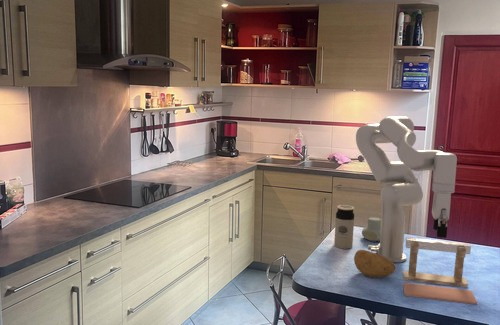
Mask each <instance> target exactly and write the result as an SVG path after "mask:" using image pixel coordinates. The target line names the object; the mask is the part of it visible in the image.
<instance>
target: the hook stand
mask: <svg viewBox="0 0 500 325" xmlns="http://www.w3.org/2000/svg"><path fill="white" fill-rule="evenodd" d="M418 248H419V243H416V242H412V246H411V248H409V249H410V250H409V259H408V260H409V261H408V262H409V263H408V270H403V271H402V278H403V281H409V282H417V283H418V282H419V283H427V284H435V285H442V286H443V285H445V286H453V287H461V288H468V287H469V286H468V285H469V284H468V282H467V280H466V278H465V277H463V272H464V262H465V258H466V255H467V254H466V247H458V253H455V262H454V268H453V269H454V270H453V276H451V275H444V274H433V273H425V272H417V265H418V264H417V261H418V253H419V249H418Z"/></svg>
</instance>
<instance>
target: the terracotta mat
mask: <svg viewBox="0 0 500 325" xmlns="http://www.w3.org/2000/svg"><path fill="white" fill-rule="evenodd" d="M402 285H403V286H402V287H403V293H404V296H405V297H414V298H421V299H428V300H429V299H430V300H438V301H445V302H453V303H460V304H461V303H462V304H469V305H478V302H477V299H476V297H475V295H474V293H473V291H472V290H471V289H470V290H469V289H461V288H452V287H443V286H434V285H427V284H420V283H419V284H418V283H410V282H402Z"/></svg>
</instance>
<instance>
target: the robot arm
mask: <svg viewBox="0 0 500 325" xmlns="http://www.w3.org/2000/svg"><path fill="white" fill-rule="evenodd" d="M414 130H415V124H414V122H413V121H412V119H410V118H409V117H408V116H386V117H384V118H382V119H381V120H380V122H379V123H368V124H364V125H361V126H360V127H358V129H357V130H356V133H355V143H356V146H357V149H358V151H359V153H360V154H361V155H362V157H363V158H364V159H365V161H366V163H367V165H368V167H369V169H370V172H371V173H372V175H373V177H374V180H376V182H377V183H378V184H380V185H382V186H383V185H384V186H383V187H382V189H381V191H380V201H381V202H380V203H381V218H380V219H381V233H380V241H379V243H378V244H376V245H369V244H368V247H367V249H368V250H367V251H370V252H373V253H376V254H378V255H381V256H383V257H385V258H387V259H389V260H391V261H392V262H393V263H403V262H405V261H406V260H407V255H406V254H405V253H404V245H405V244H404V243H405V242H404V241H405V228H406V213H405V212H404V210H403V207H404V206H414V205H415V206H416V205H418V204H420V203H421V201H422V200H423V197H424V192H423V189H422V186H421V184H420V182H419V181H418V179H417V177H416V175H415V174H414V172H413V171H416V172H423V171H425V172H426V171H432V185H431V191H432V192H433V196H432V197H433V199H432V207H431V215H432V218H433V230H436V238H444V239H445V238H447V237H448V236H447V235H448V221H449V220H450V212H451V200H452V198H451V195H452V194H454V193H455V188H456V187H455V186H456V177H457V176H456V174H457V162H458V158H457V155H456V154H455V153H451V152H444V151H441V150H439V149H438V150H437V149H423V150H416V149H415V148H414V147H413V146H414V145H415V143H416V140H417V135H416V133H415V132H414ZM391 143H392V144H393V145H394V146H395V147H396V153H397V157H398V158H399V160H400V161H391V160H389V158H388V156H387V154H386V153H385V151H384V150H383V149H382V148H381V147H380V146H379V145H377V144H391Z"/></svg>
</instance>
